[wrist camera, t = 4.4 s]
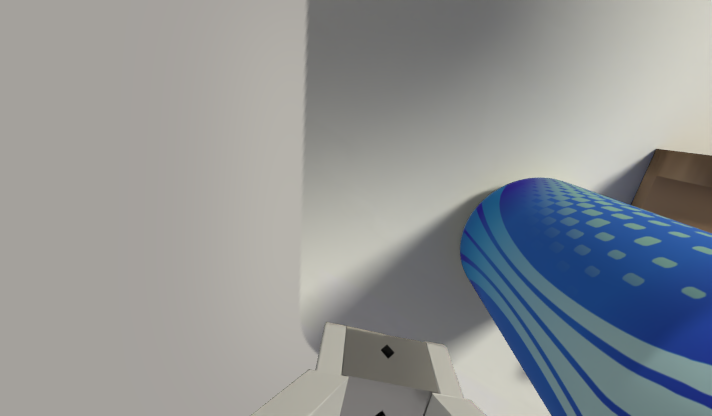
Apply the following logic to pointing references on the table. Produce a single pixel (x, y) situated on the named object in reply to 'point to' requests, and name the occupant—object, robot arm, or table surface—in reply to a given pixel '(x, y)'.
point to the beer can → (596, 299)
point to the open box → (678, 188)
